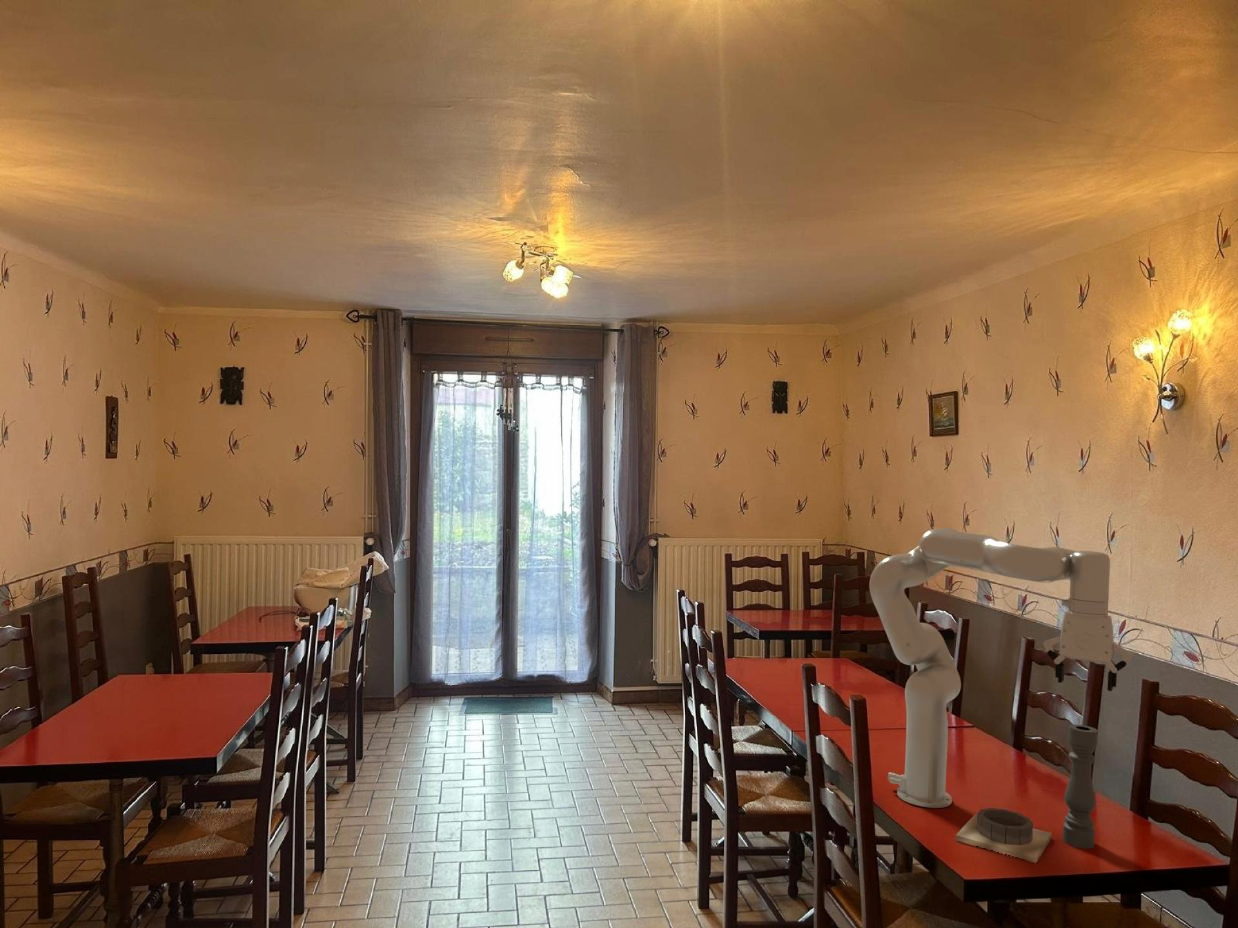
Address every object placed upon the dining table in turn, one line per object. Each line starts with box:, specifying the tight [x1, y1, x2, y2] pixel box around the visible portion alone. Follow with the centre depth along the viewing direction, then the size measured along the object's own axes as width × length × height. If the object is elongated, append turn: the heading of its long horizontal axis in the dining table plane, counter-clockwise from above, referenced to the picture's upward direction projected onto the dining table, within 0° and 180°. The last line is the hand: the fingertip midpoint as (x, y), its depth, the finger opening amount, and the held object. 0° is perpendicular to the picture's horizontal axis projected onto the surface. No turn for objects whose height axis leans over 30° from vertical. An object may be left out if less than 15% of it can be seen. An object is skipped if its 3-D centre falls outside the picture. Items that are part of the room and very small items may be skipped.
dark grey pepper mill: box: [1062, 724, 1099, 850], centre depth 189 cm, size 6×6×25 cm
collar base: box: [955, 807, 1053, 864], centre depth 189 cm, size 16×16×5 cm
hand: (1085, 685), depth 190 cm, fingers open, 9 cm apart
